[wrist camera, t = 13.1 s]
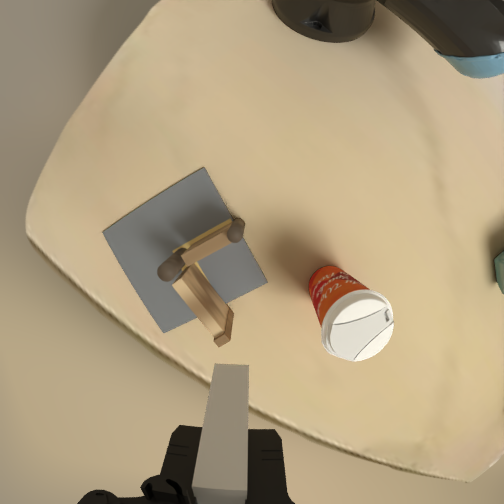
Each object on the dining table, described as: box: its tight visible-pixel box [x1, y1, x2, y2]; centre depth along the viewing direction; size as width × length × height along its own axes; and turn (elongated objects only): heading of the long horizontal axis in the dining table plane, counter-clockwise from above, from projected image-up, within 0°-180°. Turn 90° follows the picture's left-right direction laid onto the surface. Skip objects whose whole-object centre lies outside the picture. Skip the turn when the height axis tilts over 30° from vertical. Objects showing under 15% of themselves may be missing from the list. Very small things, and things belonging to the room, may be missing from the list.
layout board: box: [102, 167, 268, 333], centre depth 38 cm, size 17×17×1 cm
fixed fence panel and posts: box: [157, 218, 245, 282], centre depth 34 cm, size 2×10×8 cm, turn 118°
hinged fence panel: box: [172, 263, 234, 347], centre depth 35 cm, size 9×2×8 cm, turn 35°
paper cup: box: [309, 266, 394, 361], centre depth 32 cm, size 8×8×14 cm
